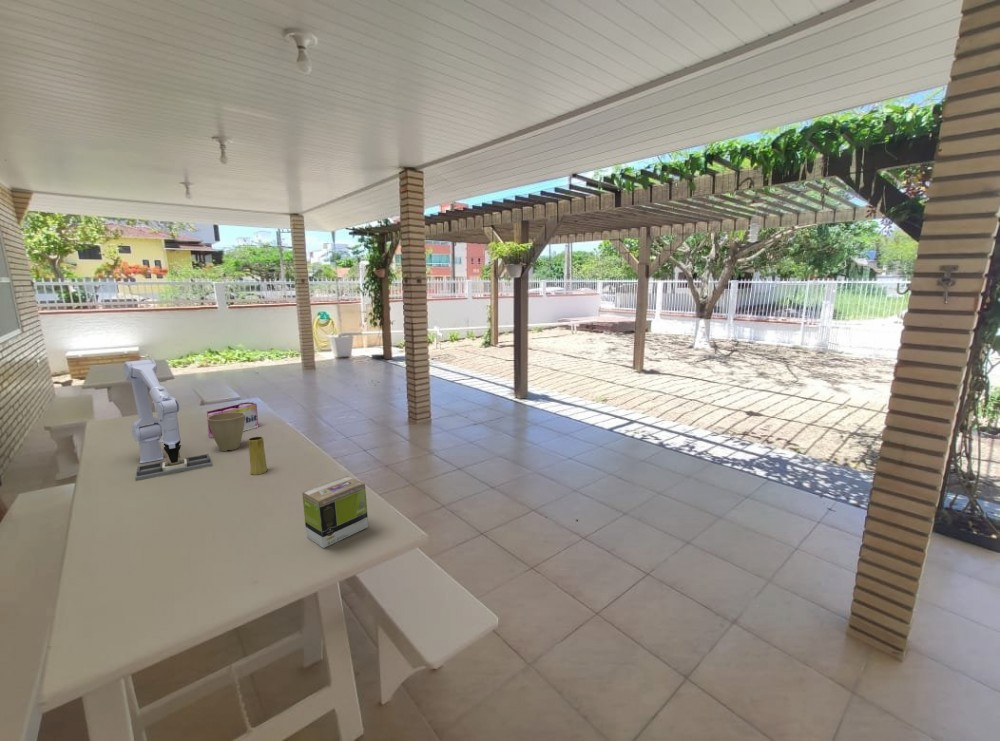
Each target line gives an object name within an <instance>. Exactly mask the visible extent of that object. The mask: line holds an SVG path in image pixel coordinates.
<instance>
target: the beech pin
mask: <svg viewBox="0 0 1000 741" xmlns="http://www.w3.org/2000/svg"><path fill="white" fill-rule="evenodd" d="M180 453H181V452H179V454H178V462H175V463H171V461H170V459H169V456H168V454H167V452H166V451H165V455H166V462H167V463H168V466H173V465H179V464H180V463H181V459H182V458H181V455H180Z"/></svg>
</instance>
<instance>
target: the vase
mask: <svg viewBox="0 0 1000 741" xmlns="http://www.w3.org/2000/svg"><path fill="white" fill-rule="evenodd" d="M247 441H248V449H249V450H248V452H249V463H250V472H249V473H250V475H252V474H253V476H257V474H259V475H263V474H265V473H267V472H268V467H267V461H266V452H265V445H264V444H265V443H264V436H252V437H249V438H248V439H247ZM266 471H267V472H266ZM262 473H263V474H262Z"/></svg>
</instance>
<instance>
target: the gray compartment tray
mask: <svg viewBox="0 0 1000 741" xmlns="http://www.w3.org/2000/svg"><path fill="white" fill-rule="evenodd" d="M180 459H181V463H180V464H179V465H173V466H168V463H167V461H163V462H157V463H156V462H155V463H151V464H145V465H139V466H137V468H136V471H135V472H136V473H135V481H141V480H146V479H151V478H157V477H156V476H158V477H162V476H161V475H163V476H167V474H168V475H172V473H173V474H178V473H182V471H183V472H187V471H188V470H189V471H193V470H192V469H194V470H198V469H197V468H199V469H203V468H202V467H204V468H208V467H207V466H209V467H213V461H212V458H211V456H210V454H209V453H207V454H201V455H196V456H195V455H194V456H190V457H184V458H180ZM177 472H178V473H177Z"/></svg>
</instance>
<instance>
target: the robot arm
mask: <svg viewBox="0 0 1000 741" xmlns="http://www.w3.org/2000/svg"><path fill="white" fill-rule="evenodd" d="M157 368H158V367H157V363H156V361H155V360H154V359H152V358H150V359H142V360H131V361H127V360H126V361H124V363H123V367H122V369H123V370H122V371H123V374H124V378H125V381H128V382H130V384H131V388H132V391H133V392H132V393H133V397H134V403H135V406H136V407H135V408H136V412H137V418H138V419H137V420H135V421H134V422H133V423H132V424H131V435H132V436H131V437H132V438H133V440H134V441H136V442H137V443H138V445H139V446H138V447H139V453H140V458H139V464H145V463H146V464H147V463H150V462H151V463H152V462H156V461H157V462H158V461H161V460H164V452H162V446H161V445H162V444H163V450H164V451H165V453H166V452H167V454H168V456H169V459H170V461H171V463H175V462H178V454H179V453H180V449H181V447H182V445H181V440H182V438H181V435H180V426H179V418H178V413H179V411H180V403H179V402H178V400H177V398H175V397H174V396H171V394H170V393H169V391H168V390H167V388H166V387H165V386H164V385H161V383H160V382H159V379H158V377H157V370H158V369H157ZM148 388H149V391H148ZM150 397H151V399H152V402H153V403H154V405H155V412H156V413H157V417H158V418H157V417H155V416H153V411H152V406H151V405H152V404H151V401H150V400H151V399H150Z"/></svg>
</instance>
